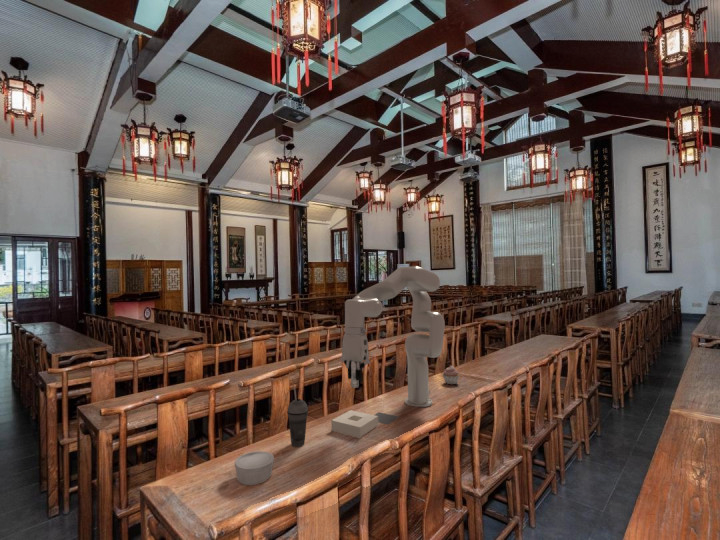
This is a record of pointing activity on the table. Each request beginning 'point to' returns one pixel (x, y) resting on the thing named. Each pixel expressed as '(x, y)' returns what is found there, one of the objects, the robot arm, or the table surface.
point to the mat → (385, 418)
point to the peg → (354, 375)
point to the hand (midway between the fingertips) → (354, 378)
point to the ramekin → (254, 467)
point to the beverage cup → (297, 421)
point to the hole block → (354, 423)
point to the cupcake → (451, 375)
